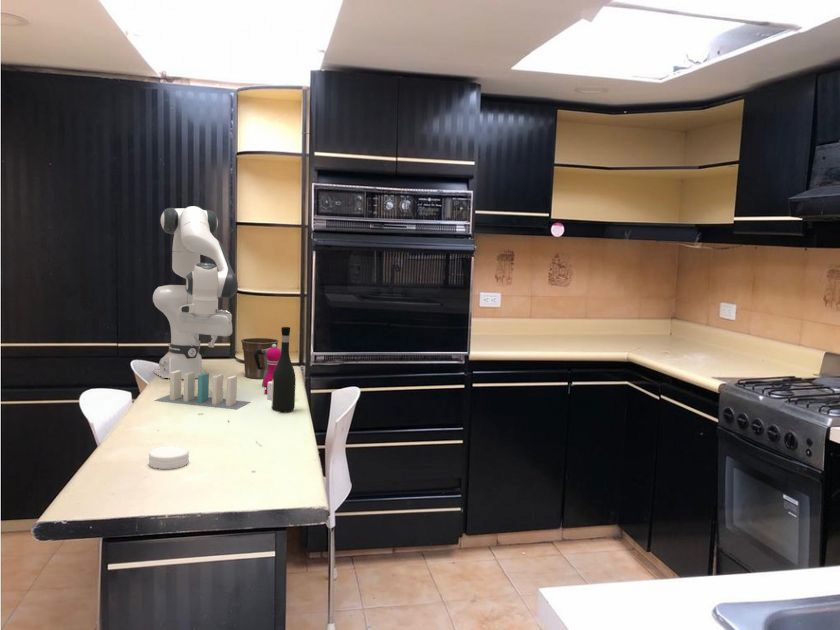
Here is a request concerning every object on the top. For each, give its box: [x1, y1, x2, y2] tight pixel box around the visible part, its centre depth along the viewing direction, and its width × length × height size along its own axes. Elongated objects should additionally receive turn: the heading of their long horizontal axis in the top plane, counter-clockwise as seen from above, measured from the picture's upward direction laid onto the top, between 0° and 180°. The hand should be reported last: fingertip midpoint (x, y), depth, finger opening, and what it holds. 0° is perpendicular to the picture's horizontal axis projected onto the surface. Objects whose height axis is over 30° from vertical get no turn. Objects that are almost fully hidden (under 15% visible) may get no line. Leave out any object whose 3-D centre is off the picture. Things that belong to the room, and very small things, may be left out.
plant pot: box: [240, 337, 280, 380], centre depth 293 cm, size 16×16×16 cm
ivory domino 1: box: [169, 370, 182, 400], centre depth 245 cm, size 2×5×10 cm, turn 169°
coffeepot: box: [254, 343, 281, 388], centre depth 275 cm, size 15×9×18 cm, turn 129°
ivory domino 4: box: [225, 375, 238, 406], centre depth 241 cm, size 2×5×10 cm, turn 169°
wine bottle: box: [271, 326, 297, 413], centre depth 237 cm, size 8×8×30 cm
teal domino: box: [197, 372, 210, 403], centre depth 243 cm, size 2×5×10 cm, turn 169°
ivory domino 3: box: [211, 373, 224, 405], centre depth 242 cm, size 2×5×10 cm, turn 169°
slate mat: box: [153, 394, 251, 411], centre depth 243 cm, size 32×12×1 cm, turn 79°
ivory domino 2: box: [182, 372, 196, 402], centre depth 244 cm, size 2×5×10 cm, turn 170°
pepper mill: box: [263, 344, 281, 395], centre depth 261 cm, size 7×7×20 cm
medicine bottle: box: [266, 370, 275, 402], centre depth 252 cm, size 7×7×12 cm
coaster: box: [148, 445, 190, 470], centre depth 178 cm, size 10×10×4 cm
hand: (204, 346), depth 241 cm, fingers open, 4 cm apart
